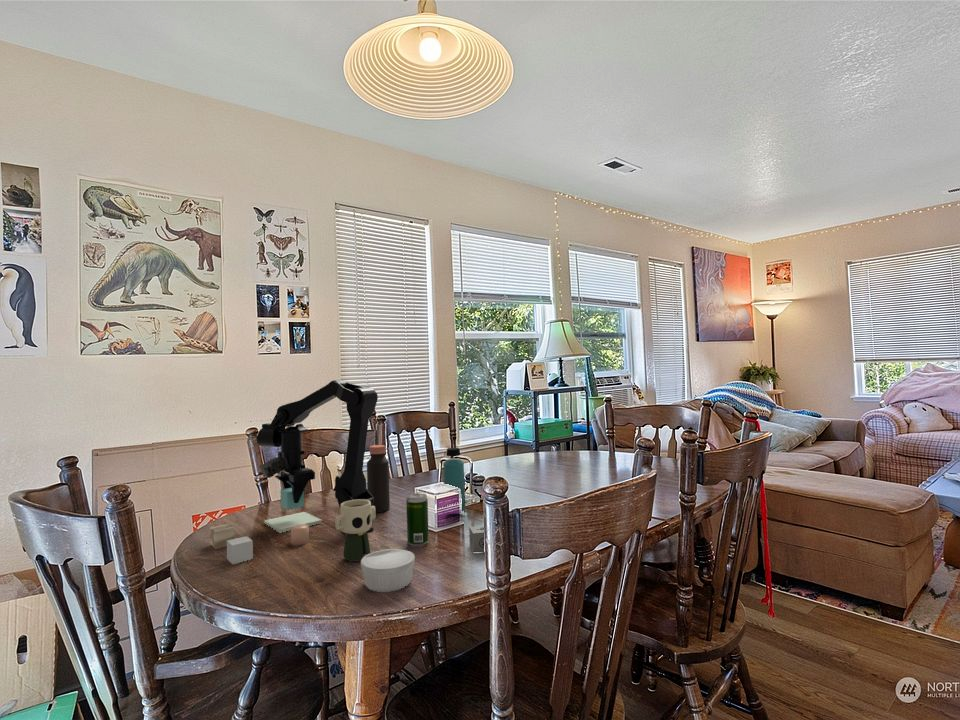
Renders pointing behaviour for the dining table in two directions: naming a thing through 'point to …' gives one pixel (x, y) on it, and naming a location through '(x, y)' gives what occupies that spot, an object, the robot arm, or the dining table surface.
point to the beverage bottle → (455, 472)
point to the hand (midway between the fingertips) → (292, 501)
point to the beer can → (417, 519)
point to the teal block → (290, 499)
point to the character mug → (356, 527)
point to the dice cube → (476, 538)
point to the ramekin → (388, 569)
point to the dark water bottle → (378, 478)
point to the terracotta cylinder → (299, 534)
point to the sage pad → (292, 521)
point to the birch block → (221, 535)
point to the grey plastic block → (239, 550)
